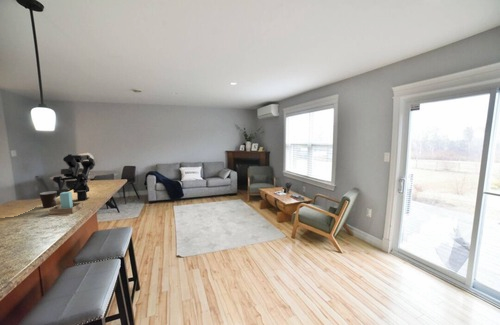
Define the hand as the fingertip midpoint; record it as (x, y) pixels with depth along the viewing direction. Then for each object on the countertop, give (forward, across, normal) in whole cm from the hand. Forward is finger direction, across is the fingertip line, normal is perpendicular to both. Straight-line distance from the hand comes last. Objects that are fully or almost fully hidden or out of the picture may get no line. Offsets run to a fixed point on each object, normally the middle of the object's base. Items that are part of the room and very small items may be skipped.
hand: (67, 189), depth 140 cm
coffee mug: (+4, -17, +14) cm, 22 cm away
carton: (+14, +1, +4) cm, 15 cm away
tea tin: (+14, +1, +4) cm, 14 cm away
